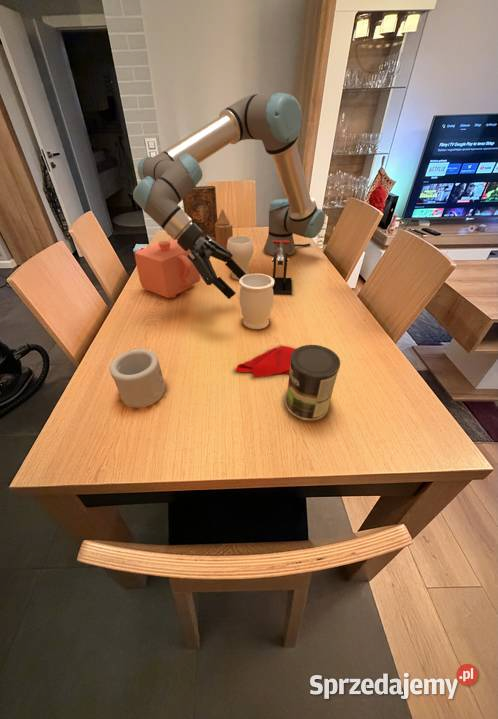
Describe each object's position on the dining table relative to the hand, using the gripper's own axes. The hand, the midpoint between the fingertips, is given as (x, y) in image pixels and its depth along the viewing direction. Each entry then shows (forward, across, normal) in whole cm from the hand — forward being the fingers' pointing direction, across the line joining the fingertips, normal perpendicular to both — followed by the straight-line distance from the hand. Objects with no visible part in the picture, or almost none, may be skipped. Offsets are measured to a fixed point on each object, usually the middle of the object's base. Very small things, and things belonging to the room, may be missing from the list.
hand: (237, 285), depth 92 cm
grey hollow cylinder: (-3, +35, -21) cm, 41 cm away
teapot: (-12, -21, -30) cm, 39 cm away
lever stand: (+16, -27, -2) cm, 31 cm away
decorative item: (-5, -59, -24) cm, 63 cm away
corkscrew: (+7, -31, +6) cm, 33 cm away
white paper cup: (+13, 0, -5) cm, 14 cm away
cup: (+4, -34, -14) cm, 37 cm away
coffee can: (+26, +32, +8) cm, 43 cm away
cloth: (+21, +18, +3) cm, 28 cm away
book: (-16, -73, -35) cm, 82 cm away
